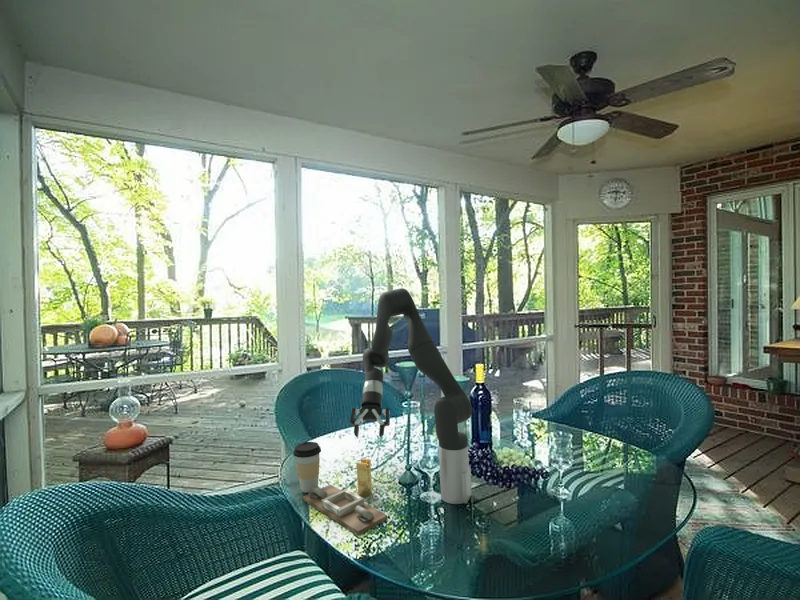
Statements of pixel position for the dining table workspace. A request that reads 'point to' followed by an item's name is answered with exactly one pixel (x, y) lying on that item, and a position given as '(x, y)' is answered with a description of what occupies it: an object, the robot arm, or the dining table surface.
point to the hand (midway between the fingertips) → (368, 436)
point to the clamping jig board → (345, 508)
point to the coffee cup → (307, 464)
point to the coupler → (364, 477)
